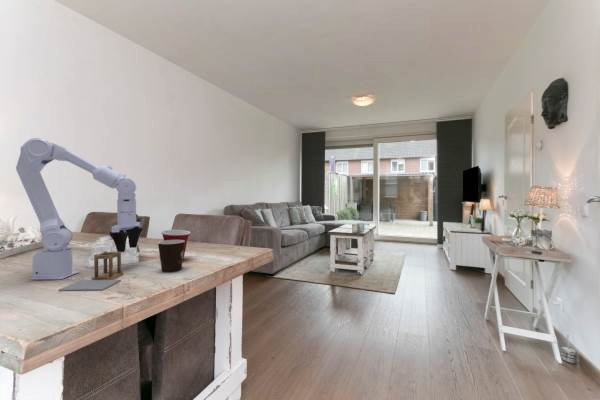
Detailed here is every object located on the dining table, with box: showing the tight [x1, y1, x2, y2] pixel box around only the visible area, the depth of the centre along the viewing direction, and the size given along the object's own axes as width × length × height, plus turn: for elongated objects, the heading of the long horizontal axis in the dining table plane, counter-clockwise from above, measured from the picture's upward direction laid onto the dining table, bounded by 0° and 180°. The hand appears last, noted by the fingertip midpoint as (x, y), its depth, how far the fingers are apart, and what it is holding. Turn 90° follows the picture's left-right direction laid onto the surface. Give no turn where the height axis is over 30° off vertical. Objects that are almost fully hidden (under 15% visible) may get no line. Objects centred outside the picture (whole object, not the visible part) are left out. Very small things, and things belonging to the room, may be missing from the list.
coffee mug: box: [157, 240, 185, 273], centre depth 101 cm, size 12×9×10 cm
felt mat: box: [57, 279, 122, 292], centre depth 82 cm, size 12×8×1 cm
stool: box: [91, 251, 124, 280], centre depth 90 cm, size 6×6×8 cm
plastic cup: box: [160, 229, 191, 260], centre depth 112 cm, size 11×11×12 cm
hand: (127, 249), depth 101 cm, fingers open, 7 cm apart
